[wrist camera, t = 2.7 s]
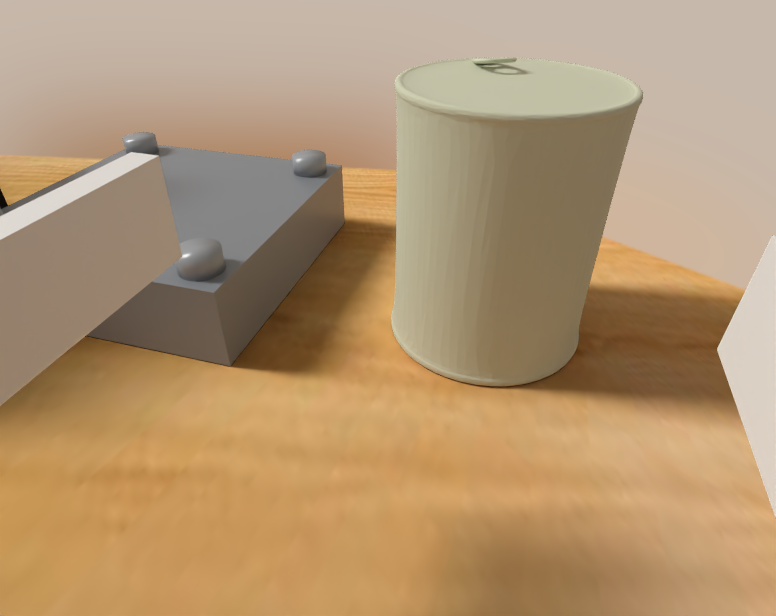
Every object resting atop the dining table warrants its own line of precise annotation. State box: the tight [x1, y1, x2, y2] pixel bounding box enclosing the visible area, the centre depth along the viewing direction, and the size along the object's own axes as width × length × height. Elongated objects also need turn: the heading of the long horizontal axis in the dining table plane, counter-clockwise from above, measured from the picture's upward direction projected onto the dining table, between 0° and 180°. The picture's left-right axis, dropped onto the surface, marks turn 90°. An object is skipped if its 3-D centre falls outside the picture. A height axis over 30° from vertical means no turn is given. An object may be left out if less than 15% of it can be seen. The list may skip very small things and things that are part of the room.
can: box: [391, 58, 643, 386], centre depth 23 cm, size 9×9×12 cm
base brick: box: [0, 132, 345, 366], centre depth 30 cm, size 15×15×5 cm
